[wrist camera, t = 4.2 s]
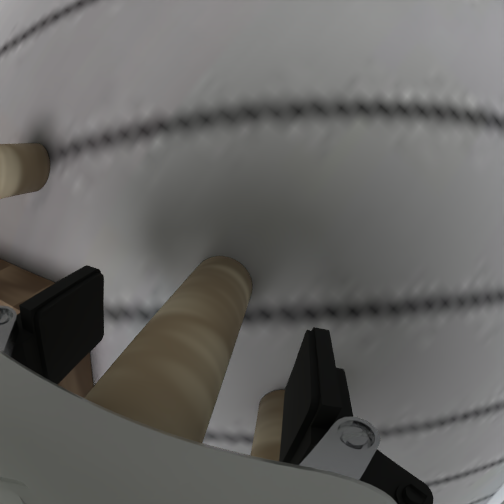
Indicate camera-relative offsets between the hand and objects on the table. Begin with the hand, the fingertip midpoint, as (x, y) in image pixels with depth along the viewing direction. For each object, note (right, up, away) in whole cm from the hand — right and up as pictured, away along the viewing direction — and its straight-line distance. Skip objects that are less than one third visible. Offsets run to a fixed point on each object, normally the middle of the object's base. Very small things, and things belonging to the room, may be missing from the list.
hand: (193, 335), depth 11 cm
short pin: (-11, +8, +4) cm, 14 cm away
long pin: (+1, +1, +5) cm, 5 cm away
